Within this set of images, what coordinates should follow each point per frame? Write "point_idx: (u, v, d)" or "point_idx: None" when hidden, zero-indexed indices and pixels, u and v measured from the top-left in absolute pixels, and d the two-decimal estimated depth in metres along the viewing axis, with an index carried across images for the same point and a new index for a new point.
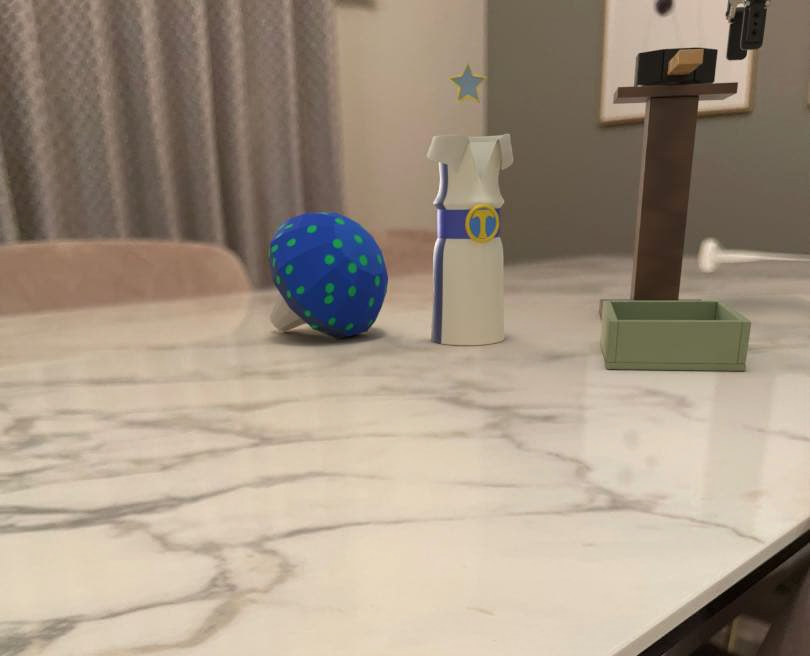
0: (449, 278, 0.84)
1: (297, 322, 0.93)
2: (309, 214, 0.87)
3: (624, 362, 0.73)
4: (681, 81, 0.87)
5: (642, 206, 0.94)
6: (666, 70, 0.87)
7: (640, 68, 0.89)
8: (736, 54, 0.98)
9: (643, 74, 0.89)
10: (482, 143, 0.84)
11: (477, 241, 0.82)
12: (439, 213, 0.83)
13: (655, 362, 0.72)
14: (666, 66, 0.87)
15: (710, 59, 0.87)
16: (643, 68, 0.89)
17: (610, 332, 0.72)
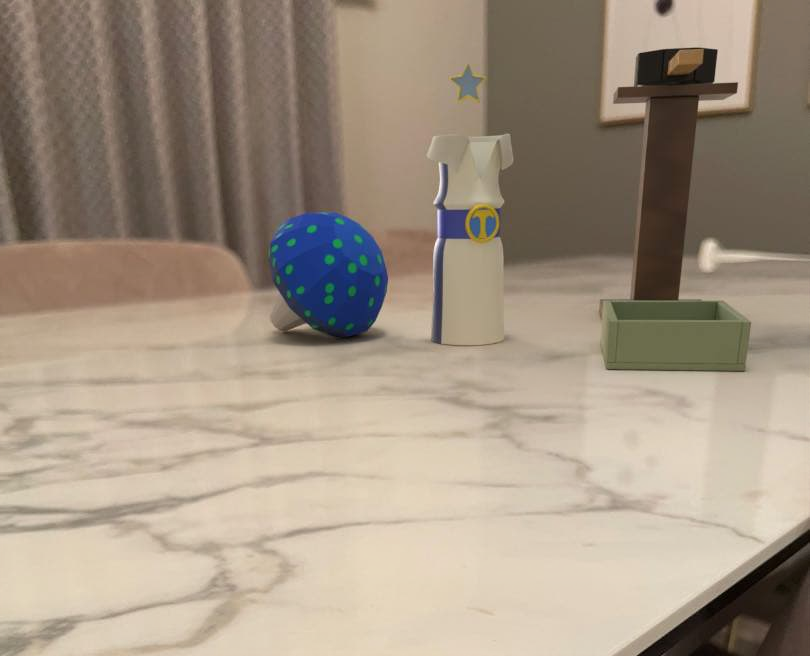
0: (449, 278, 0.84)
1: (297, 322, 0.93)
2: (309, 214, 0.87)
3: (624, 362, 0.73)
4: (681, 81, 0.87)
5: (642, 206, 0.94)
6: (666, 70, 0.87)
7: (640, 68, 0.89)
8: None
9: (643, 74, 0.89)
10: (482, 143, 0.84)
11: (477, 241, 0.82)
12: (439, 213, 0.83)
13: (655, 362, 0.72)
14: (666, 66, 0.87)
15: (710, 59, 0.87)
16: (643, 68, 0.89)
17: (610, 332, 0.72)
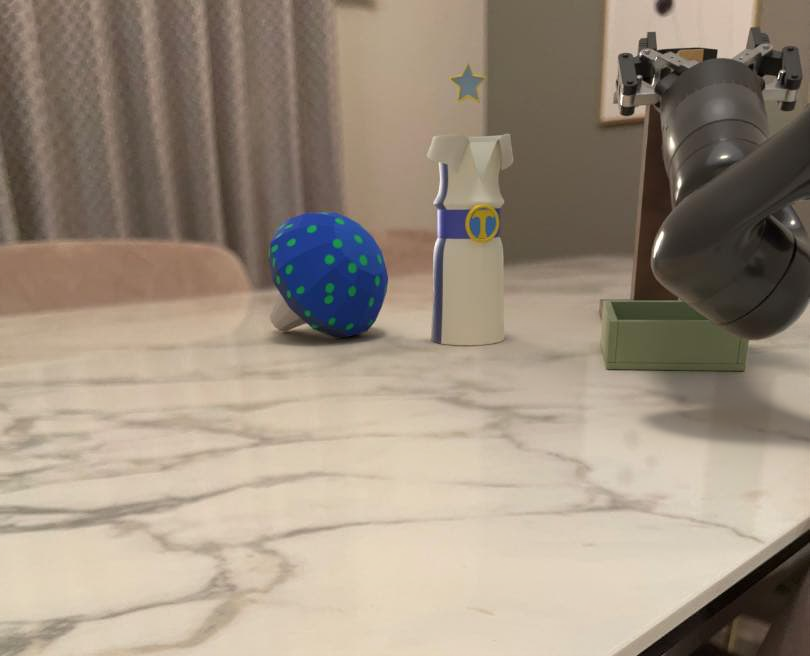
0: (449, 278, 0.84)
1: (297, 322, 0.93)
2: (309, 214, 0.87)
3: (624, 362, 0.73)
4: None
5: (642, 206, 0.94)
6: None
7: None
8: None
9: None
10: (482, 143, 0.84)
11: (477, 241, 0.82)
12: (439, 213, 0.83)
13: (655, 362, 0.72)
14: None
15: None
16: None
17: (610, 332, 0.72)
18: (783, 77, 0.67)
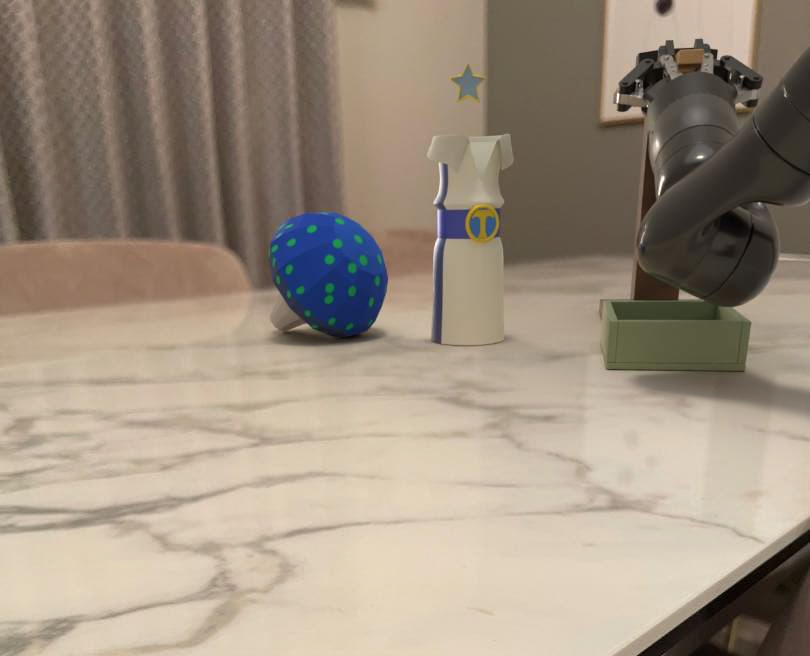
0: (449, 278, 0.84)
1: (297, 322, 0.93)
2: (309, 214, 0.87)
3: (624, 362, 0.73)
4: None
5: (642, 206, 0.94)
6: None
7: None
8: None
9: None
10: (482, 143, 0.84)
11: (477, 241, 0.82)
12: (439, 213, 0.83)
13: (655, 362, 0.72)
14: None
15: None
16: None
17: (610, 332, 0.72)
18: (744, 81, 0.78)
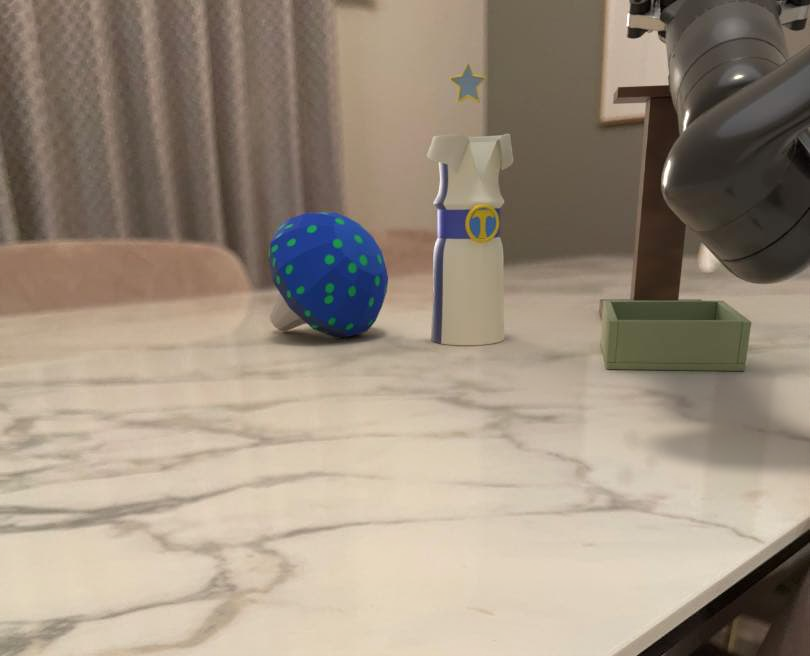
0: (449, 278, 0.84)
1: (297, 322, 0.93)
2: (309, 214, 0.87)
3: (624, 362, 0.73)
4: None
5: (642, 206, 0.94)
6: None
7: None
8: None
9: None
10: (482, 143, 0.84)
11: (477, 241, 0.82)
12: (439, 213, 0.83)
13: (655, 362, 0.72)
14: None
15: None
16: None
17: (610, 332, 0.72)
18: None
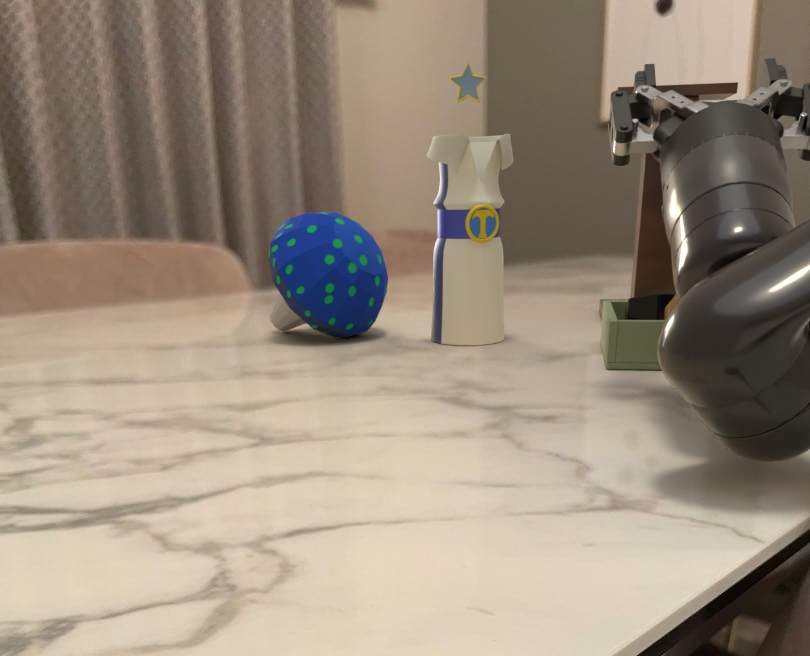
0: (449, 278, 0.84)
1: (297, 322, 0.93)
2: (309, 214, 0.87)
3: (624, 362, 0.73)
4: None
5: (642, 206, 0.94)
6: (662, 316, 0.73)
7: (630, 315, 0.75)
8: None
9: None
10: (482, 143, 0.84)
11: (477, 241, 0.82)
12: (439, 213, 0.83)
13: (655, 362, 0.72)
14: (662, 312, 0.73)
15: None
16: (634, 314, 0.75)
17: (610, 332, 0.72)
18: (805, 121, 0.57)
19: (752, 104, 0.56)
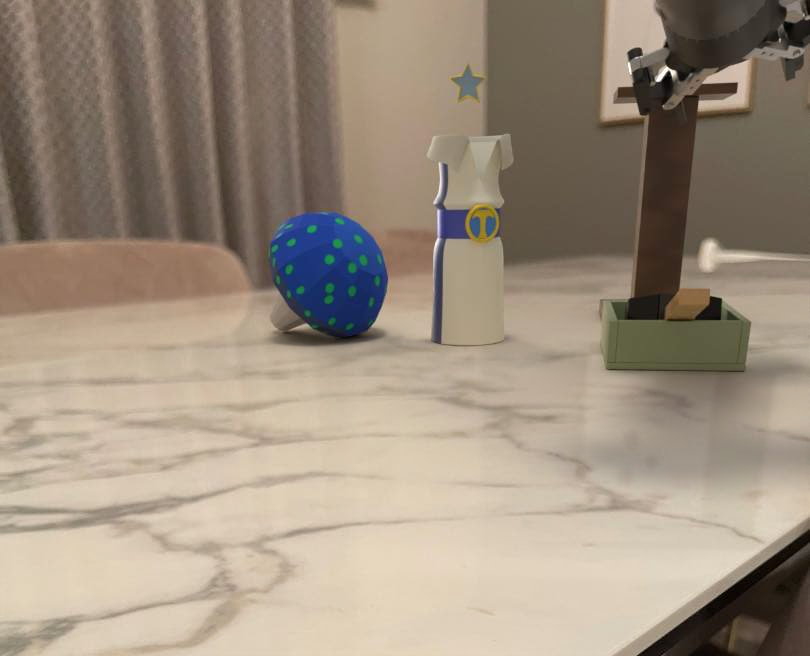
0: (449, 278, 0.84)
1: (297, 322, 0.93)
2: (309, 214, 0.87)
3: (624, 362, 0.73)
4: None
5: (642, 206, 0.94)
6: (662, 316, 0.73)
7: (630, 315, 0.75)
8: None
9: None
10: (482, 143, 0.84)
11: (477, 241, 0.82)
12: (439, 213, 0.83)
13: (655, 362, 0.72)
14: (662, 312, 0.73)
15: (714, 308, 0.73)
16: (634, 314, 0.75)
17: (610, 332, 0.72)
18: None
19: None
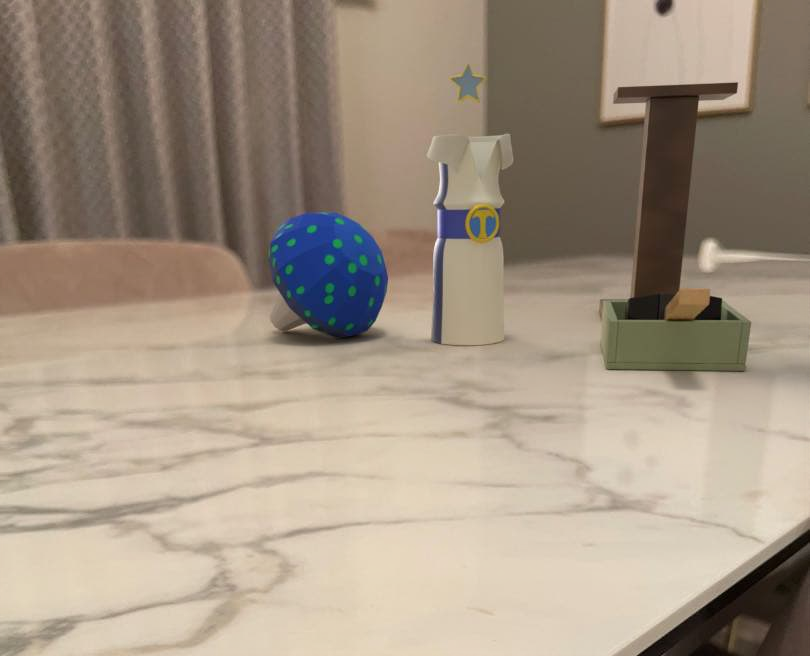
0: (449, 278, 0.84)
1: (297, 322, 0.93)
2: (309, 214, 0.87)
3: (624, 362, 0.73)
4: None
5: (642, 206, 0.94)
6: (662, 316, 0.73)
7: (630, 315, 0.75)
8: None
9: None
10: (482, 143, 0.84)
11: (477, 241, 0.82)
12: (439, 213, 0.83)
13: (655, 362, 0.72)
14: (662, 312, 0.73)
15: (714, 308, 0.73)
16: (634, 314, 0.75)
17: (610, 332, 0.72)
18: None
19: None
